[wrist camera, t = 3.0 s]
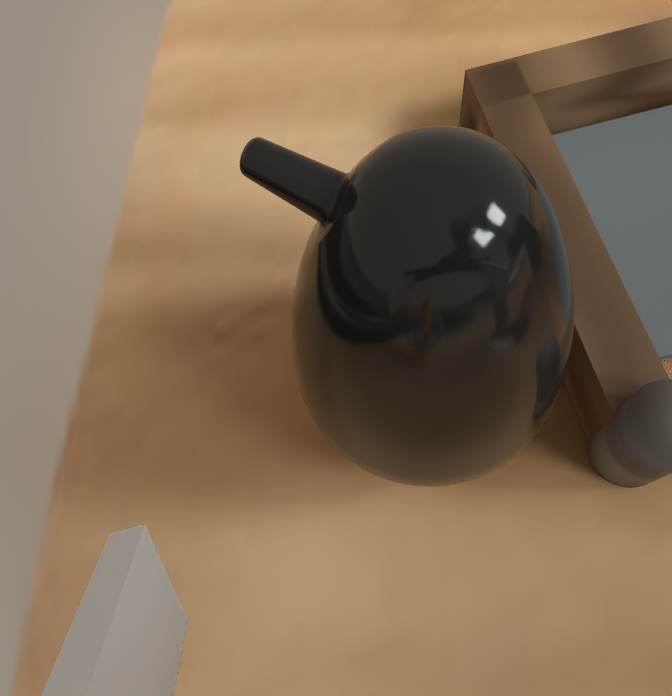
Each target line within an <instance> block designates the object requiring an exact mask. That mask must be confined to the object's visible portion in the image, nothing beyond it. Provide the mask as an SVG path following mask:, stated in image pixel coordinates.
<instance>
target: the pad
mask: <svg viewBox="0 0 672 696" xmlns="http://www.w3.org/2000/svg"><path fill="white" fill-rule="evenodd" d="M552 137H553V139H554V141H555V143H556V145H557V147H558V149H559V151H560V154H561V156H562V158H563V160H564V162H565V164H566V166H567V168H568V170H569V172H570V174H571V176H572V178H573V180H574V183H575V185H576V187H577V189H578V191H579V193H580V195H581V197H582V199H583V201H584V203H585V205H586V207H587V210H588V212H589V214H590V216H591V218H592V220H593V222H594V224H595V226H596V228H597V230H598V232H599V234H600V236H601V239H602V241H603V243H604V245H605V247H606V249H607V251H608V253H609V255H610V257H611V259H612V261H613V263H614V265H615V268H616V270H617V272H618V274H619V276H620V278H621V280H622V282H623V284H624V286H625V288H626V290H627V292H628V295H629V297H630V299H631V301H632V303H633V305H634V307H635V309H636V311H637V313H638V315H639V317H640V319H641V321H642V324H643V326H644V328H645V330H646V332H647V334H648V336H649V338H650V340H651V342H652V344H653V346H654V348H655V350H656V353H657V355H658V357H659V359H663V358H667V357H671V356H672V105H669V106H665V107H661V108H657V109H653V110H649V111H645V112H641V113H637V114H634V115H630V116H626V117H622V118H618V119H614V120H610V121H606V122H602V123H598V124H594V125H590V126H587V127H583V128H579V129H575V130H571V131H567V132H563V133H559V134H555V135H552Z"/></svg>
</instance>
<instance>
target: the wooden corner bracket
mask: <svg viewBox="0 0 672 696" xmlns="http://www.w3.org/2000/svg"><path fill="white" fill-rule="evenodd" d="M669 105H672V17H670V18H666V19H662V20H658V21H654V22H651V23H647V24H643V25H639V26H635V27H631V28H627V29H623V30H620V31H616V32H612V33H608V34H604V35H600V36H596V37H592V38H589V39H585V40H581V41H577V42H573V43H569V44H565V45H561V46H557V47H554V48H550V49H546V50H542V51H538V52H534V53H530V54H526V55H523V56H519V57H515V58H511V59H507V60H503V61H499V62H495V63H492V64H488V65H484V66H480V67H476V68H472V69H468V70H465V77H464V86H463V95H462V104H461V112H460V121H459V122H460V124H461V127H465V128H469V129H473V130H476V131H479V132H481V133H484V134H486V135H488V136H490V137H492V138H494V139H496V140H497V141H499V142H501V143H502V144H503V145H505V146H506V147H508V148H509V149H510V150H511V151H513V152H514V153H515V154H516V155H517V156H518V157H519V158H520V159H521V160H522V161H523V162H524V163H525V164H526V166H527V167H528V168H529V169H530V170H531V172H532V173H533V174H534V176H535V177H536V178H537V180H538V181H539V183H540V184H541V186H542V187H543V189H544V191H545V192H546V194H547V196H548V198H549V200H550V202H551V204H552V207H553V209H554V211H555V214H556V216H557V219H558V222H559V225H560V228H561V231H562V234H563V238H564V241H565V245H566V249H567V254H568V258H569V263H570V268H571V275H572V282H573V291H574V332H573V341H572V347H571V353H570V358H569V362H568V366H567V370H566V373H565V376H564V381H565V384H566V386H567V389H568V391H569V394H570V396H571V398H572V401H573V403H574V406H575V408H576V411H577V413H578V416H579V418H580V421H581V423H582V426H583V428H584V431H585V433H586V435H587V438H588V455H589V458H590V461H591V463H592V465H593V466H594V468H595V469H596V471H597V472H598V473H599V474H600V475H601V476H602V477H603V478H605V479H606V480H608V481H609V482H611V483H613V484H616V485H618V486H622V487H639V486H642V485H645V484H647V483H650V482H652V481H654V480H657V479H659V478H661V477H664V476H666V475H668V474H670V473H672V380H671V379H669V377H668V375H667V373H666V371H665V369H664V367H663V365H662V363H661V361H660V359H659V357H658V355H657V353H656V350H655V348H654V346H653V344H652V342H651V340H650V338H649V336H648V334H647V332H646V330H645V328H644V326H643V324H642V321H641V319H640V317H639V315H638V313H637V311H636V309H635V307H634V305H633V303H632V301H631V299H630V297H629V295H628V292H627V290H626V288H625V286H624V284H623V282H622V280H621V278H620V276H619V274H618V272H617V270H616V268H615V265H614V263H613V261H612V259H611V257H610V255H609V253H608V251H607V249H606V247H605V245H604V243H603V241H602V239H601V236H600V234H599V232H598V230H597V228H596V226H595V224H594V222H593V220H592V218H591V216H590V214H589V212H588V210H587V207H586V205H585V203H584V201H583V199H582V197H581V195H580V193H579V191H578V189H577V187H576V185H575V183H574V180H573V178H572V176H571V174H570V172H569V170H568V168H567V166H566V164H565V162H564V160H563V158H562V156H561V154H560V151H559V149H558V147H557V145H556V143H555V141H554V139H553V137H552V135H555V134H559V133H563V132H567V131H571V130H575V129H579V128H583V127H587V126H590V125H594V124H598V123H602V122H606V121H610V120H614V119H618V118H622V117H626V116H630V115H634V114H637V113H641V112H645V111H649V110H653V109H657V108H661V107H665V106H669Z"/></svg>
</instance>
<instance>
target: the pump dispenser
mask: <svg viewBox="0 0 672 696" xmlns="http://www.w3.org/2000/svg"><path fill="white" fill-rule="evenodd" d="M240 170H241V172H242V174H243V175H244V176H245V177H247V178H249V179H250V180H252V181H253V182H255V183H257V184H258V185H260V186H262V187H263V188H265V189H267V190H268V191H270V192H271V193H273V194H275V195H276V196H278V197H280V198H281V199H283V200H285V201H286V202H288V203H290V204H291V205H293V206H294V207H296V208H298V209H299V210H301V211H303V212H304V213H306V214H307V215H309V216H311V217H312V218H314V219H315V220H317V222H316V224H315V226H314V228H313V230H312V233H311V235H310V237H309V240H308V242H307V245H306V248H305V251H304V254H303V257H302V260H301V264H300V267H299V271H298V276H297V280H296V286H295V292H294V299H293V309H292V342H293V353H294V361H295V368H296V374H297V379H298V383H299V387H300V390H301V393H302V396H303V399H304V401H305V404H306V406H307V408H308V410H309V412H310V414H311V416H312V418H313V420H314V422H315V423H316V425H317V426H318V428H319V430H320V431H321V432H322V434H323V435H324V436H325V438H326V439H327V440H328V441H329V442H330V443H331V444H332V446H333V447H334V448H335V449H336V450H338V451H339V452H340V453H341V454H342V455H343V456H344V457H346V458H347V459H348V460H350V461H351V462H352V463H354V464H355V465H357V466H359V467H360V468H362V469H364V470H366V471H367V472H369V473H372V474H374V475H376V476H378V477H381V478H384V479H387V480H390V481H393V482H397V483H401V484H406V485H413V486H427V487H428V486H447V485H454V484H459V483H463V482H467V481H470V480H473V479H476V478H479V477H481V476H484V475H486V474H488V473H490V472H492V471H494V470H496V469H498V468H499V467H501V466H503V465H504V464H506V463H507V462H508V461H510V460H511V459H512V458H514V457H515V456H516V455H517V454H518V453H520V452H521V451H522V450H523V449H524V448H525V447H526V446H527V445H528V444H529V442H530V441H531V440H532V439H533V438H534V437H535V435H536V434H537V433H538V431H539V430H540V429H541V427H542V426H543V424H544V423H545V421H546V420H547V418H548V416H549V414H550V412H551V410H552V408H553V406H554V404H555V402H556V400H557V397H558V394H559V392H560V389H561V386H562V383H563V380H564V376H565V373H566V370H567V366H568V362H569V358H570V353H571V347H572V341H573V332H574V291H573V282H572V275H571V268H570V263H569V258H568V254H567V249H566V245H565V241H564V238H563V234H562V231H561V228H560V225H559V222H558V219H557V216H556V214H555V211H554V209H553V207H552V204H551V202H550V200H549V198H548V196H547V194H546V192H545V191H544V189H543V187H542V186H541V184H540V183H539V181H538V180H537V178H536V177H535V176H534V174H533V173H532V172H531V170H530V169H529V168H528V167H527V166H526V164H525V163H524V162H523V161H522V160H521V159H520V158H519V157H518V156H517V155H516V154H515V153H514V152H513V151H511V150H510V149H509V148H508V147H506V146H505V145H503V144H502V143H501V142H499V141H497V140H496V139H494V138H492V137H490V136H488V135H486V134H484V133H481V132H479V131H476V130H473V129H469V128H465V127H460V126H452V125H431V126H423V127H418V128H413V129H410V130H407V131H404V132H401V133H399V134H397V135H395V136H393V137H391V138H389V139H388V140H386V141H384V142H383V143H382V144H380V145H379V146H377V147H376V148H375V149H374V150H372V151H371V152H370V153H369V154H367V155H366V156H365V157H364V158H362V159H361V160H360V161H359V162H358V163H357V164H356V165H355V166H354V167H353V169H352V170H351V171H350V172H349V173H344V172H341V171H339V170H336V169H334V168H331V167H329V166H327V165H324V164H322V163H319V162H317V161H315V160H312V159H310V158H308V157H305V156H303V155H301V154H298V153H296V152H294V151H291V150H289V149H286V148H284V147H282V146H279V145H277V144H275V143H272V142H270V141H268V140H265V139H263V138H260V137H256V138H253V139H251V140H250V141H249V142H248V143H247V145H246V146H245V148H244V150H243V152H242V155H241V158H240Z"/></svg>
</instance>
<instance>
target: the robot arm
mask: <svg viewBox="0 0 672 696" xmlns="http://www.w3.org/2000/svg"><path fill="white" fill-rule="evenodd" d="M187 622H188V619H187V617H186V614H185V612H184V610H183V608H182V605H181V603H180V601H179V599H178V597H177V594H176V592H175V590H174V588H173V585H172V583H171V581H170V579H169V576H168V574H167V572H166V570H165V567H164V565H163V563H162V561H161V558H160V556H159V554H158V552H157V549H156V547H155V545H154V543H153V540H152V538H151V536H150V534H149V532H148V529H147V527H146V525H145V524H142V525H138V526H134V527H130V528H126V529H122V530H119V531H115V532H111V533H110V534H109V536H108V538H107V541H106V543H105V545H104V548H103V550H102V553H101V555H100V557H99V560H98V562H97V564H96V567H95V569H94V571H93V574H92V576H91V578H90V581H89V583H88V586H87V588H86V590H85V593H84V595H83V597H82V600H81V602H80V604H79V607H78V609H77V611H76V614H75V616H74V619H73V621H72V623H71V626H70V628H69V630H68V633H67V635H66V637H65V640H64V642H63V645H62V647H61V649H60V652H59V654H58V656H57V659H56V661H55V663H54V666H53V668H52V670H51V673H50V675H49V678H48V680H47V682H46V685H45V687H44V689H43V692H42V694H41V696H173V695H174V690H175V684H176V679H177V674H178V669H179V663H180V658H181V653H182V648H183V643H184V637H185V632H186V627H187Z"/></svg>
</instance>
